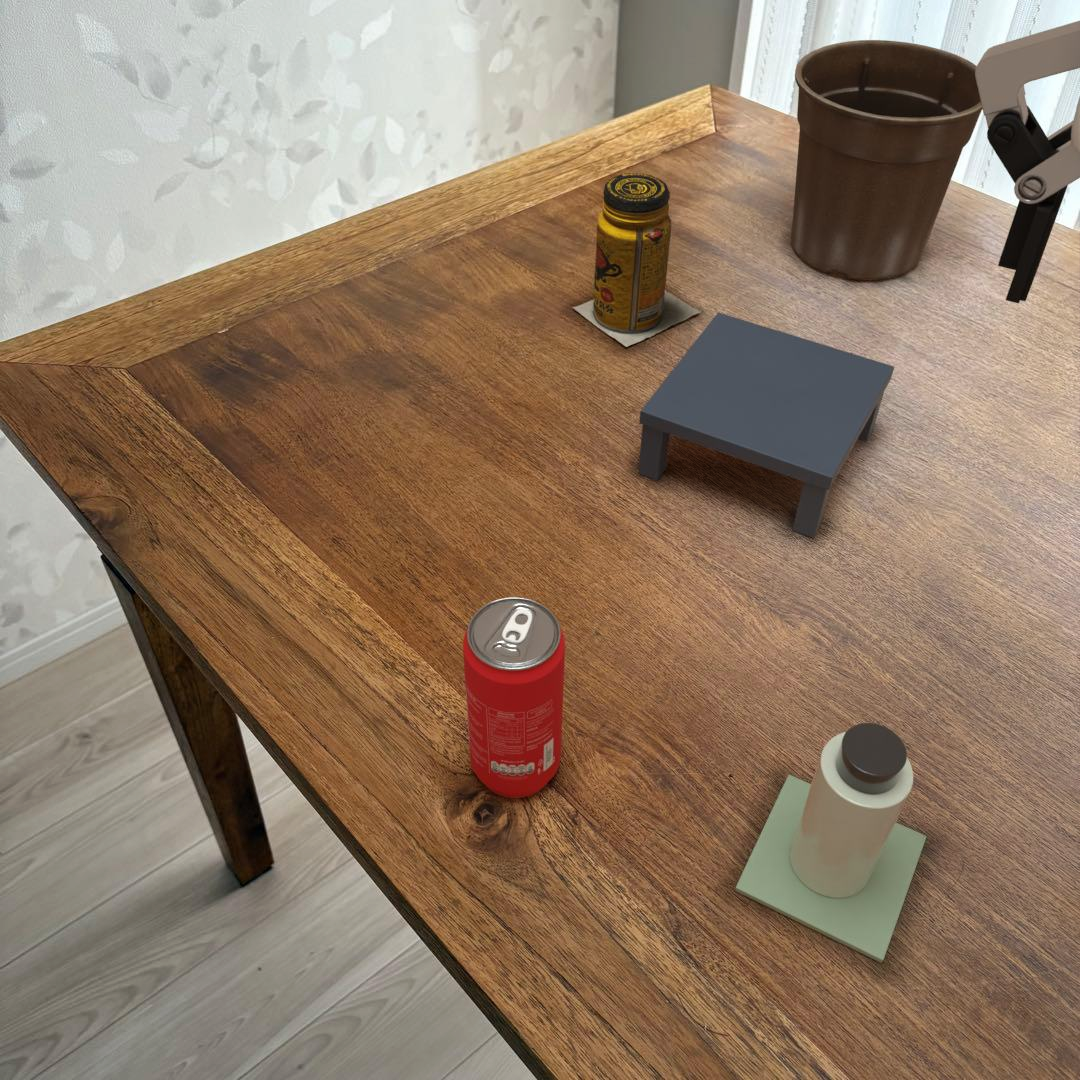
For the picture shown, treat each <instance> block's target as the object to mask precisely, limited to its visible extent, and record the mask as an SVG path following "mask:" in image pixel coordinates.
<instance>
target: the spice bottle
mask: <svg viewBox="0 0 1080 1080" xmlns="http://www.w3.org/2000/svg"><path fill="white" fill-rule="evenodd" d="M820 753H821V754H820V757H819V759H818V762H817V765H816V768H815V771H814V774H813V777H812V780H811V783H810V784H811V786H810V789H809V792H808V795H807V798H806V801H805V804H804V807H803V810H802V813H801V815H800V818H799V821H798V824H797V827H796V830H795V833H794V836H793V839H792V842H791V845H790V851H789V856H790V862H791V865H792V868H793V870H794V872H795V874H796V875H797V877H798V878H799V879H800V881H801V882H802V883H803V884H804V885H806V886H807V887H808V888H809V889H811V890H812V891H814V892H816V893H818V894H820V895H823V896H827V897H832V898H845V897H850V896H852V895H855V894H857V893H859V892H860V891H861V890H863V889H864V888H865V887H866V885H867V884H868V882H869V880H870V878H871V876H872V874H873V872H874V870H875V867H876V865H877V863H878V861H879V859H880V857H881V854H882V852H883V850H884V848H885V846H886V843H887V841H888V839H889V837H890V835H891V833H892V830H893V828H894V826H895V824H896V823H898V820H899V817H900V815H901V814H902V813H901V812H902V810H903V808H904V806H905V804H906V802H907V800H908V797H909V795H910V794H911V791H912V789H913V786H914V771H913V766H912V764H911V762H910V760H909V758H908V752H907V748H906V745H905V743H904V741H903V740H902V739H901V737H900V736H899V735H898V734H897V733H896V732H895V731H893V730H892V729H890V728H889V727H887V726H884V725H882V724H880V723H879V724H878V723H873V722H862V723H858V724H855V725H853V726H851V727H849V728H848V730H846V731H844V732H840V733H838V734H836V735H834V737H832V738H831V739H829V740H828V741H827V742H826V743H825V745H824V747H823V748H822V750H821V752H820Z"/></svg>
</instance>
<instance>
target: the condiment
mask: <svg viewBox="0 0 1080 1080" xmlns="http://www.w3.org/2000/svg"><path fill="white" fill-rule="evenodd" d="M668 187H669V186H668V184H667V183H666V182H664V181H663V179H661V178H658V177H656V176H654V175H652V174H646V173H638V172H629V173H624V174H623V173H622V174H618V175H616V176H614V177H612V178H611V179H609V180H608V181H607V182H606V183H605V184H604V188H603V192H602V193H603V201H602V204H601V207H602V211H601V212H600V213H599V215H598V218H597V225H596V247H595V259H594V260H595V262H594V264H595V266H594V283H593V299H591V300H588V301H586V302H584V303H582V304H579V305H576V306H572V309H573V310H574V311H576V312H578V313H579V314H580V315H581V316H583V317H584V319H586V320H587V321H589V322H590V323H591V324H593V325H594V327H595V326H596V327H597V328H598V329H600V330H601V331H602V332H604V333H605V334H606V335H608V336H609V337H611V338H613V339H615V341H617V342H618V343H620V344H622V345H623V346H624V347H625V348H627V347H629V346H631V345H634V344H637V343H640V342H642V341H644V340H646V339H647V338H651V337H653V336H655V335H657V334H659V333H661V332H663V331H664V330H667V329H668V328H669V327H672V326H675V325H677V324H679V323H681V322H684V321H685V320H688V319H689V318H691V317H693V316H695V315H697V314H700V313H701V310H698V309H697V308H695V307H692V306H691V305H689V304H688V303H686V302H685V301H683V300H681V299H679V298H678V297H677V296H675V295H674V294H672V293H671V292H668V291H667V290H666V284H667V273H668V265H669V254H670V247H671V238H672V237H671V236H672V219H671V217H670V215H669V212H670V203H669V201H670V197H671V195H670V194H671V192H670V190H669V188H668Z"/></svg>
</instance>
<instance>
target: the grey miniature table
mask: <svg viewBox="0 0 1080 1080" xmlns="http://www.w3.org/2000/svg"><path fill="white" fill-rule="evenodd" d="M894 370H895V366H894V365H891V364H887V363H884V362H881V361H878V360H874V359H871V358H868V357H865V356H862V355H859V354H858V355H857V354H856V353H852V352H848V351H846V350H843V349H839V348H835V347H833V346H830V345H825V344H824V343H823V344H822V343H819V342H816V341H812V340H809V339H806V338H803V337H800V336H797V335H793V334H789V333H786V332H784V331H781V330H777V329H774V328H770V327H767V326H765V325H762V324H761V325H760V324H758V323H754V322H751V321H748V320H745V319H742V318H738V317H735V316H731V315H728V314H724V313H721V312H717V313H716V315H715V316H714V317H713V318H712V319H711V321H710V322H709V323H708V325H707V326H706V327H705V328H704V330H703V331H702V332H701V334H700V335H699V336H698V337H697V338H696V340H695V341H694V342H693V343H692V345H691V346H690V347H689V349H688V350H687V351H686V353H684V355H683V356H682V357H681V358H680V360H679V361H678V363H677V364H676V365H675V366H674V368H672V370H671V372H670V373H669V374H668V375H667V376H666V378H665V379H664V380H663V382H662V383H661V384H660V385H659V387H658V388H657V389H656V391H655V392H654V393H653V394H652V396H651V397H650V398H649V399H648V400H647V402H646V403H645V404H644V405H643V406H642V408H641V409H640V412H639V422H638V423H639V424H640V425H642V427H641V440H640V448H639V457H638V458H639V460H638V468H637V474H638V475H642V476H644V477H647V478H649V479H651V480H654V481H658V480H659V479H660V478H661V476H662V475H663V474H664V472H665V471H666V469H667V466H668V465H667V464H668V455H669V448H670V439H671V436H674V437H676V438H679V439H682V440H684V441H688V442H691V443H694V444H696V445H700V446H701V447H704V448H708V449H710V450H713V451H717V452H718V453H722V454H724V455H727V456H729V457H733V458H736V459H738V460H742V461H744V462H747V463H750V464H753V465H755V466H758V467H762V468H764V469H767V470H770V471H773V472H776V473H778V474H781V475H784V476H787V477H790V478H792V479H795V480H797V481H801V482H803V485H802V488H801V492H800V497H799V501H798V505H797V509H796V513H795V517H794V522H793V525H792V531H793V532H795V533H798V534H801V535H803V536H806V537H809V538H812V539H814V538H815V537H816V535H817V534H818V532H819V529H820V528H821V526H822V523H823V520H824V516H825V513H826V508H827V504H828V500H829V497H830V493H831V489H832V486H833V484H834V482H835V480H836V478H837V477H838V475H839V474H840V471H841V470H842V468H843V466H844V464H845V462H846V461H847V459H848V457H849V455H850V454H851V452H852V450H853V448H854V446H855V445H856V444H857V443H856V442H857V441H858V439H859V440H862V441H865V442H867V441H868V440H869V438H870V436H871V434H872V433H873V431H874V428H875V425H876V422H877V417H878V413H879V410H880V407H881V403H882V400H883V397H884V393H885V391H886V388H887V387H888V385H889V383H890V382H891V380H892V377H893V374H894Z"/></svg>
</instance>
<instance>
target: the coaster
mask: <svg viewBox="0 0 1080 1080" xmlns="http://www.w3.org/2000/svg"><path fill="white" fill-rule="evenodd" d="M810 786H811V783H809V782H807V781H805V780H802V779H800V778H798V777H796V776H794V775H791V774H788V775H787V777H786V778H785V781H784V783H783V784H782V787H781V790H780V791H779V794H778V796H777V797H776V800H775V802H774V804H773V807H772V808H771V810H770V813H769V815H768V817H767V820H766V821H765V823H764V826H763V828H762V830H761V832H760V834H759V836H758V838H757V841H756V843H755V844H754V846H753V849H752V851H751V853H750V856H749V858H748V860H747V862H746V864H745V866H744V868H743V870H742V872H741V875H740V876H739V878H738V881H737V883H736V885H735V888H734V891H735V892H737V893H739V894H740V895H742V896H744V897H747V898H749V899H750V900H752V901H754V902H757V903H758V904H760V905H763V906H764V907H767V908H768V909H771V910H773V911H775V912H777V913H779V914H781V915H782V916H784V917H787V918H789V919H791V920H793V921H795V922H797V923H799V924H801V925H803V926H805V927H807V928H809V929H811V930H813V931H815V932H818V933H819V934H821V935H823V936H825V937H828V938H829V939H831V940H833V941H836V942H837V943H839V944H841V945H844V946H846V947H848V948H849V949H852V950H854V951H856V952H858V953H860V954H862V955H865V956H866V957H868V958H870V959H872V960H874V961H875V962H877V963H880V964H883V963H884V960H885V957H886V955H887V951H888V949H889V946H890V942H891V940H892V937H893V935H894V932H895V928H896V927H897V923H898V921H899V917H900V914H901V912H902V910H903V909H902V908H903V906H904V903H905V901H906V897H907V894H908V891H909V889H910V885H911V884H912V881H913V878H914V875H915V873H916V869H917V866H918V863H919V860H920V857H921V854H922V852H923V849H924V847H925V843H926V840H927V837H928V836H927V835H926V834H923V833H920V832H918V831H917V830H914V829H912V828H909V827H907V826H905V825H903V824H900V823H898V822H896V824H895V826H894V828H893V830H892V833H891V835H890V837H889V839H888V841H887V843H886V846H885V848H884V850H883V852H882V854H881V857H880V859H879V861H878V863H877V865H876V867H875V870H874V872H873V874H872V876H871V878H870V880H869V882H868V884H867V885H866V887H865V888H864V889H863V890H861V891H860V892H859V893H857V894H855V895H852V896H850V897H845V898H832V897H827V896H823V895H820V894H818V893H816V892H814V891H812V890H811V889H809V888H808V887H807V886H806V885H804V884H803V883H802V882H801V881H800V879H799V878H798V877H797V875H796V874H795V872H794V870H793V868H792V865H791V862H790V856H789V851H790V845H791V842H792V839H793V836H794V833H795V830H796V827H797V824H798V821H799V818H800V815H801V813H802V810H803V807H804V804H805V801H806V798H807V795H808V792H809V789H810Z"/></svg>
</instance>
